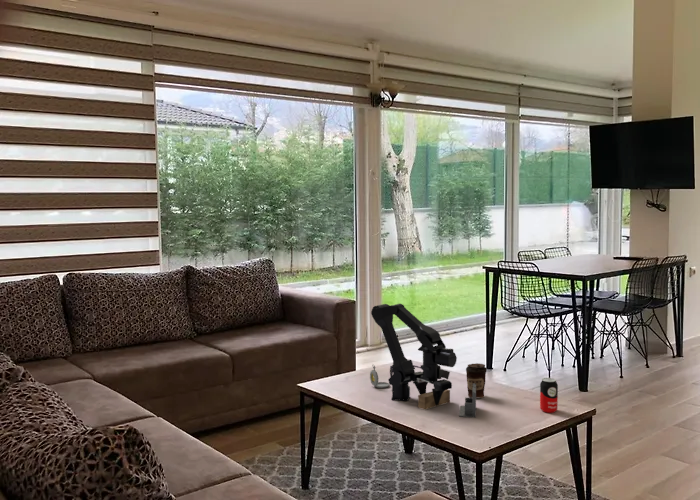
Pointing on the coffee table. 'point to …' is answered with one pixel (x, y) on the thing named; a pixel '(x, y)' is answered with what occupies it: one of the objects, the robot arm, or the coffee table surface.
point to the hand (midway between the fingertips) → (430, 402)
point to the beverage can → (548, 395)
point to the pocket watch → (375, 380)
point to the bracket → (469, 405)
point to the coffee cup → (476, 379)
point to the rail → (432, 399)
